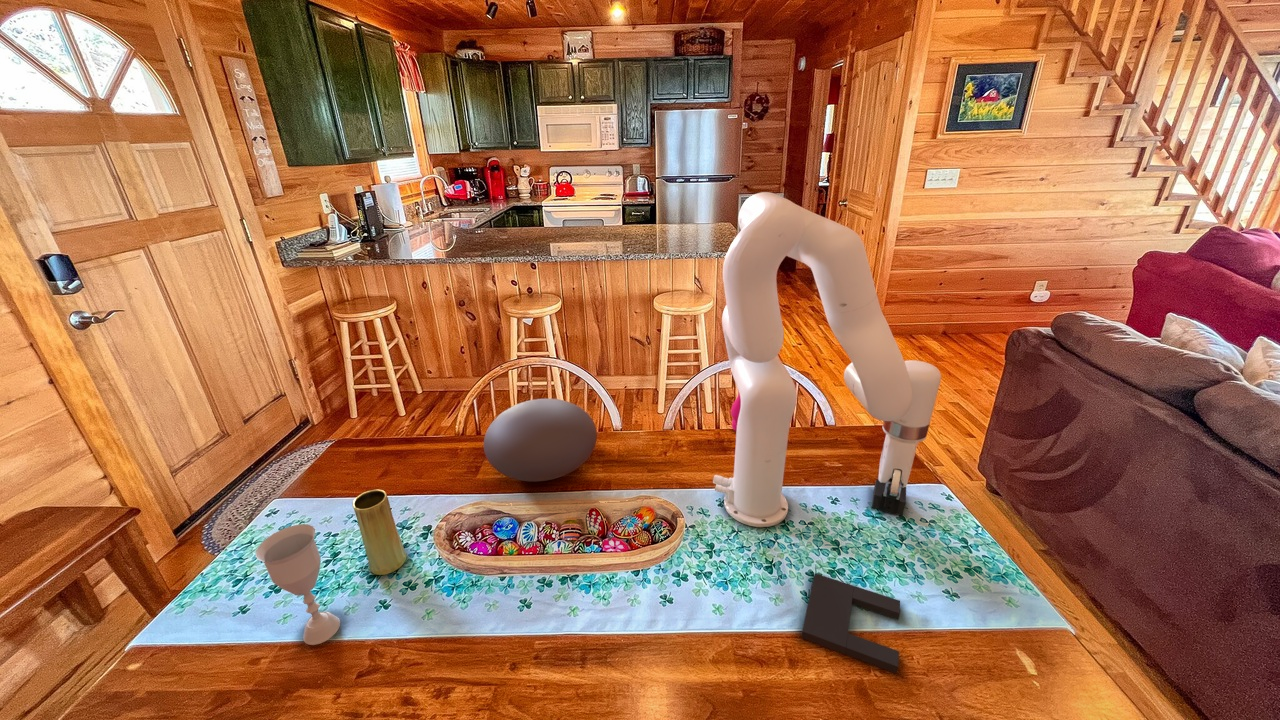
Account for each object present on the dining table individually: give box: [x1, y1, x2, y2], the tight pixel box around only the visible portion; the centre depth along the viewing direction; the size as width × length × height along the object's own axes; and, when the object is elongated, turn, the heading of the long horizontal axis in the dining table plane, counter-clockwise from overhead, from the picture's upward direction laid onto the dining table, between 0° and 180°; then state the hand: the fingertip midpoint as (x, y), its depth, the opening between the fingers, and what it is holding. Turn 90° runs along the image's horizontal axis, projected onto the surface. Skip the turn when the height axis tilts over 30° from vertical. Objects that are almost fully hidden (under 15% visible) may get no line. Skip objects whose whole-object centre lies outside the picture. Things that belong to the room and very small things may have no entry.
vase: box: [352, 489, 408, 576], centre depth 88 cm, size 6×6×14 cm
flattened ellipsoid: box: [483, 398, 598, 483], centre depth 114 cm, size 25×25×15 cm
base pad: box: [800, 572, 901, 675], centre depth 78 cm, size 13×12×2 cm
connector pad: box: [871, 478, 907, 516], centre depth 102 cm, size 6×6×3 cm
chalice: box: [254, 523, 341, 646], centre depth 75 cm, size 7×7×18 cm
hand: (888, 500), depth 103 cm, fingers closed on connector pad, 5 cm apart
